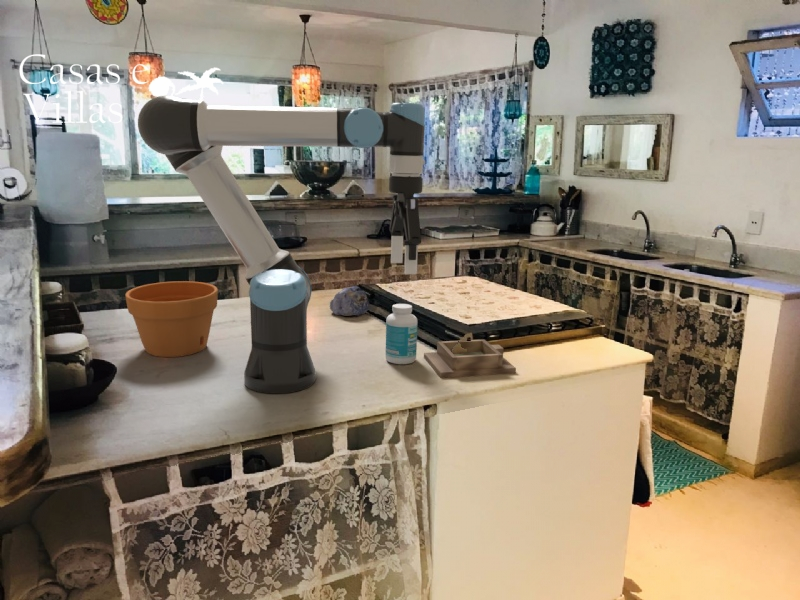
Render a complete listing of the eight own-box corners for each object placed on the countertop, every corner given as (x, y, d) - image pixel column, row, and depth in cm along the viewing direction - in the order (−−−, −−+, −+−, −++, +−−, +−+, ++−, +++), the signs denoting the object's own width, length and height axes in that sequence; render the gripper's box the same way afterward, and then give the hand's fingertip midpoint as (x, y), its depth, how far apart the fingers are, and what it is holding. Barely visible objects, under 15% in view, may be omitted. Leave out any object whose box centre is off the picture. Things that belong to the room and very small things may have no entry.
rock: (375, 303, 198) (361, 277, 193) (358, 325, 191) (342, 299, 187) (350, 304, 204) (335, 279, 200) (332, 326, 198) (317, 300, 193)
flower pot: (184, 367, 147) (181, 304, 143) (110, 355, 153) (105, 295, 150) (236, 341, 166) (234, 285, 163) (168, 332, 173) (165, 278, 169)
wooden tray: (440, 377, 144) (441, 359, 143) (423, 357, 157) (424, 341, 156) (515, 372, 148) (516, 355, 147) (493, 353, 161) (494, 337, 160)
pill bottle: (413, 366, 151) (414, 310, 147) (382, 364, 152) (383, 308, 149) (418, 356, 158) (420, 303, 155) (389, 354, 159) (390, 301, 156)
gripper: (438, 178, 134) (434, 278, 139) (408, 172, 157) (406, 258, 162) (403, 178, 132) (400, 279, 137) (378, 172, 155) (376, 258, 161)
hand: (403, 268), depth 150 cm, fingers open, 13 cm apart
